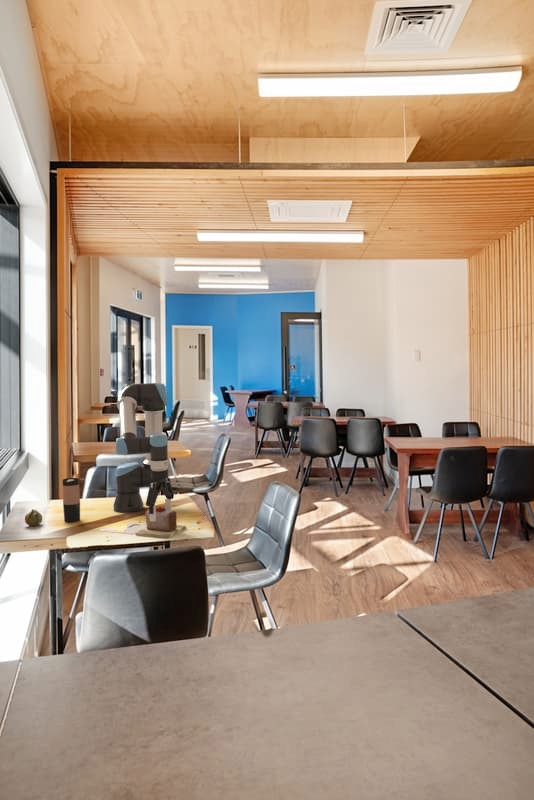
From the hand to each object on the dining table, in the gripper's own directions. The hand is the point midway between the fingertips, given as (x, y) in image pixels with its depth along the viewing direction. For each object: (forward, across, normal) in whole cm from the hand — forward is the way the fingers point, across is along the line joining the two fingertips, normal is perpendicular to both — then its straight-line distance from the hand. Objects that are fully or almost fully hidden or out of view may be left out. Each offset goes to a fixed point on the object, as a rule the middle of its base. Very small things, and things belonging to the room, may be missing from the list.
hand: (160, 517), depth 262 cm
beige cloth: (+7, 0, 0) cm, 7 cm away
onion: (+7, -8, +63) cm, 64 cm away
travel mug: (+7, +4, +51) cm, 52 cm away
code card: (+7, +1, +19) cm, 20 cm away
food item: (+6, 0, 0) cm, 6 cm away
